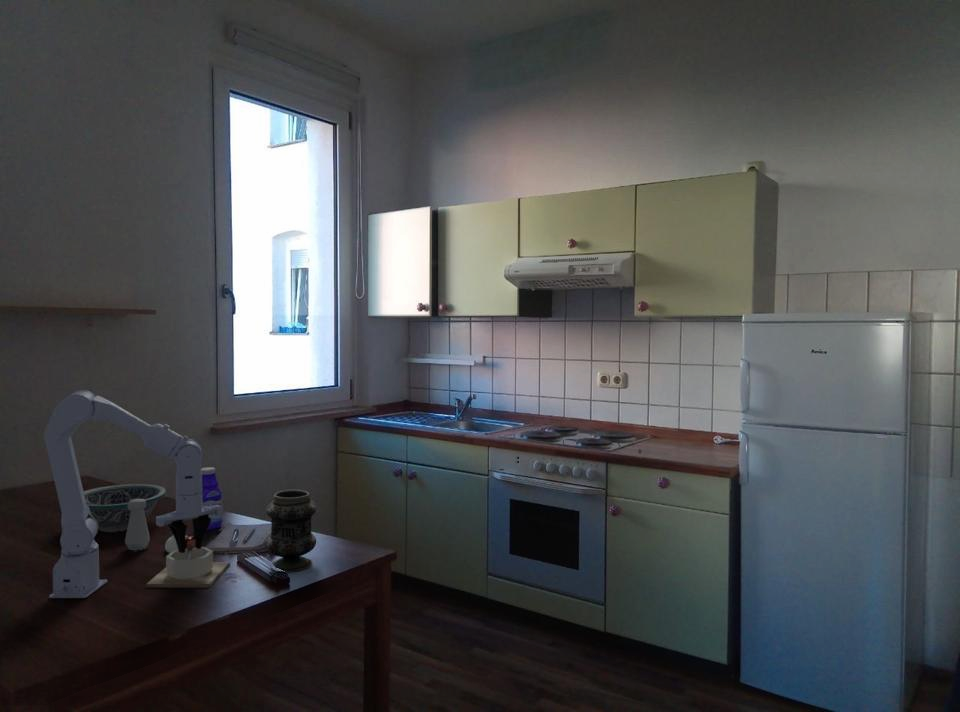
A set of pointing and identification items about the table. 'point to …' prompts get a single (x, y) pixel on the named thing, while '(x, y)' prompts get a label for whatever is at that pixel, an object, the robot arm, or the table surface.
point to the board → (203, 581)
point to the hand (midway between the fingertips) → (189, 549)
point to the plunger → (190, 545)
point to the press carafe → (189, 564)
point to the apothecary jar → (291, 529)
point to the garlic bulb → (171, 544)
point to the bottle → (211, 495)
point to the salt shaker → (137, 526)
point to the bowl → (120, 503)
